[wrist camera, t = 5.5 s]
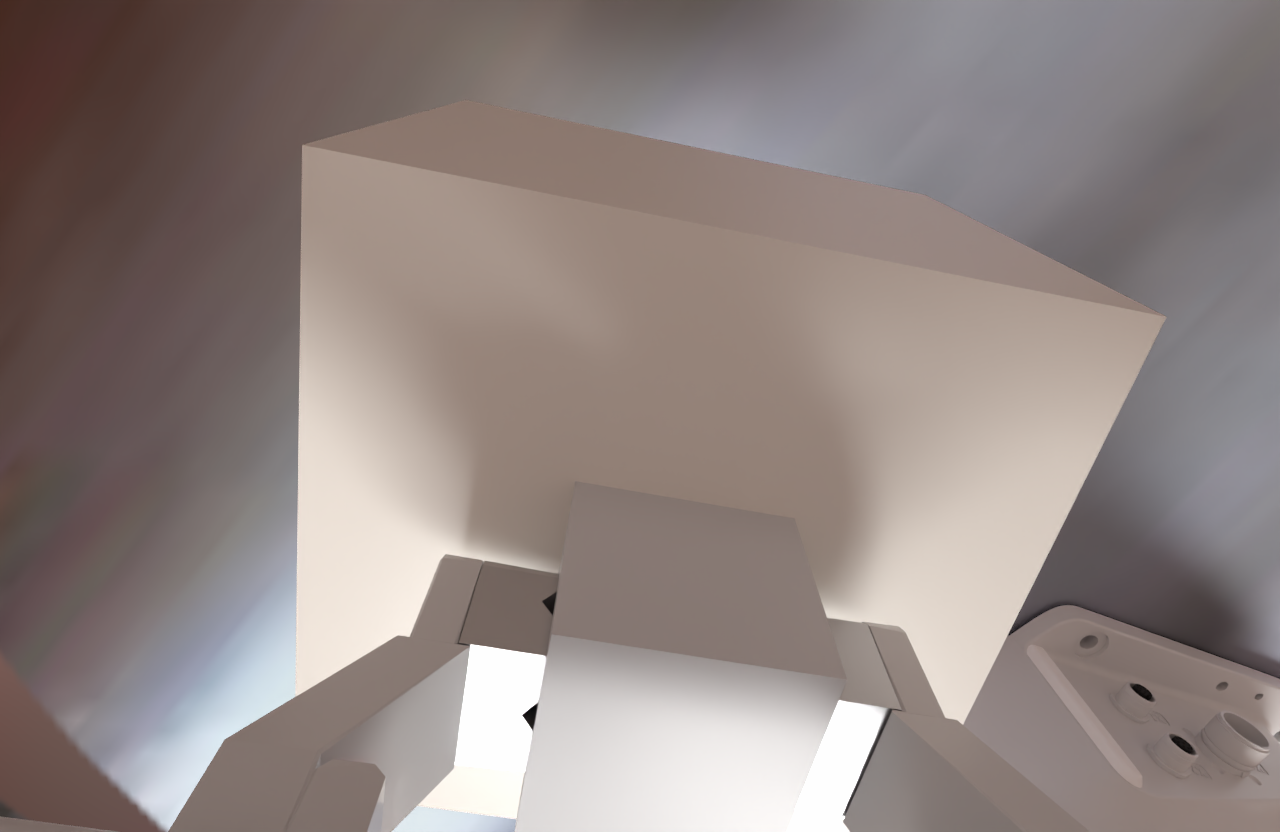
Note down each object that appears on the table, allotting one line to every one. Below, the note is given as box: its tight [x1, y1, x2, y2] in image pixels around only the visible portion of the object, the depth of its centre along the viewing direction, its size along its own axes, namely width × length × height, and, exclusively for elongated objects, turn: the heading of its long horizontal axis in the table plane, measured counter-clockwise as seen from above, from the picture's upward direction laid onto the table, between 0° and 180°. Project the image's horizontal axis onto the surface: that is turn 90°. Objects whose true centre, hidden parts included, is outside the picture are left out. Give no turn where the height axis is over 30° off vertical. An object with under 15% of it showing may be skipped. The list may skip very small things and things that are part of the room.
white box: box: [295, 100, 1166, 832], centre depth 14 cm, size 10×10×12 cm
